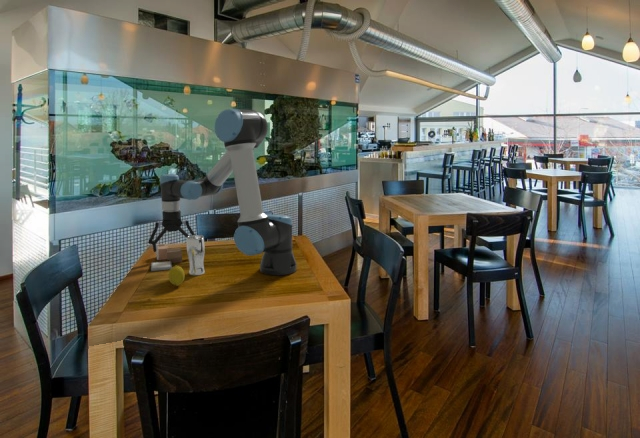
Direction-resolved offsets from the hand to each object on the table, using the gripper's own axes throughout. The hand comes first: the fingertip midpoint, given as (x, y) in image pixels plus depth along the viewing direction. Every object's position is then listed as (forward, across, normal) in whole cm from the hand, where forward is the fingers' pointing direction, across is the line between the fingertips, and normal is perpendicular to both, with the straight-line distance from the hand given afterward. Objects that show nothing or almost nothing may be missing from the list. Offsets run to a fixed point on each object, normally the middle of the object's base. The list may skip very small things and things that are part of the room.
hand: (174, 257), depth 188 cm
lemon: (+1, 0, +34) cm, 34 cm away
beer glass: (+1, -8, +21) cm, 23 cm away
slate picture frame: (+1, +5, +8) cm, 10 cm away
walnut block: (+2, 0, 0) cm, 2 cm away
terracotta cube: (+2, +5, -6) cm, 8 cm away
